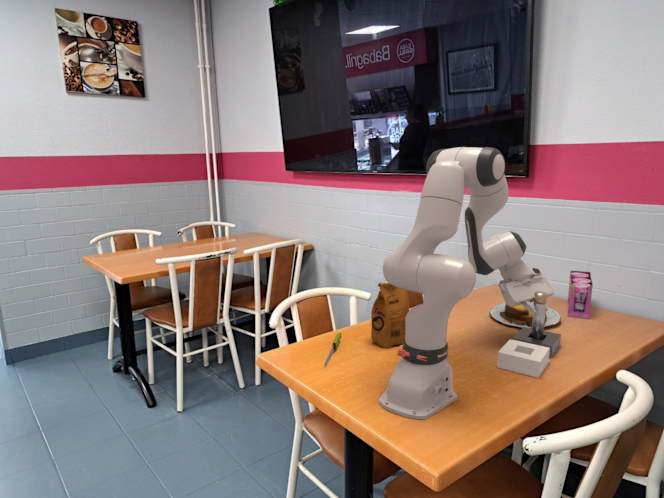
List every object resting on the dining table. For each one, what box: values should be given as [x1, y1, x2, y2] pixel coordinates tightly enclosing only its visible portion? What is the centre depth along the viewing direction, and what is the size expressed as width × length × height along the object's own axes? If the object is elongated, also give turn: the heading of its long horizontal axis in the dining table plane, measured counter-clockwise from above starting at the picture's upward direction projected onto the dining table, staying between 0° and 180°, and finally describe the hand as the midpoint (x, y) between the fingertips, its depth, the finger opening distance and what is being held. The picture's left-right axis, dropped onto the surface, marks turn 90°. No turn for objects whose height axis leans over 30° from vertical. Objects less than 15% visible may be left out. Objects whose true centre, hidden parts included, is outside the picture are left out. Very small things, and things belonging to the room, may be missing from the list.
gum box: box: [567, 270, 594, 320], centre depth 190 cm, size 24×8×14 cm, turn 153°
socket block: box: [512, 327, 562, 359], centre depth 156 cm, size 12×12×4 cm
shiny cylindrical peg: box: [531, 291, 548, 338], centre depth 154 cm, size 4×4×15 cm
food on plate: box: [489, 302, 562, 328], centre depth 182 cm, size 25×25×7 cm
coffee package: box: [370, 282, 410, 349], centre depth 162 cm, size 10×12×22 cm
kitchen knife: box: [324, 332, 342, 367], centre depth 154 cm, size 22×1×3 cm, turn 167°
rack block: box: [496, 339, 550, 379], centre depth 143 cm, size 12×12×5 cm
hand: (540, 312), depth 153 cm, fingers closed on shiny cylindrical peg, 4 cm apart
